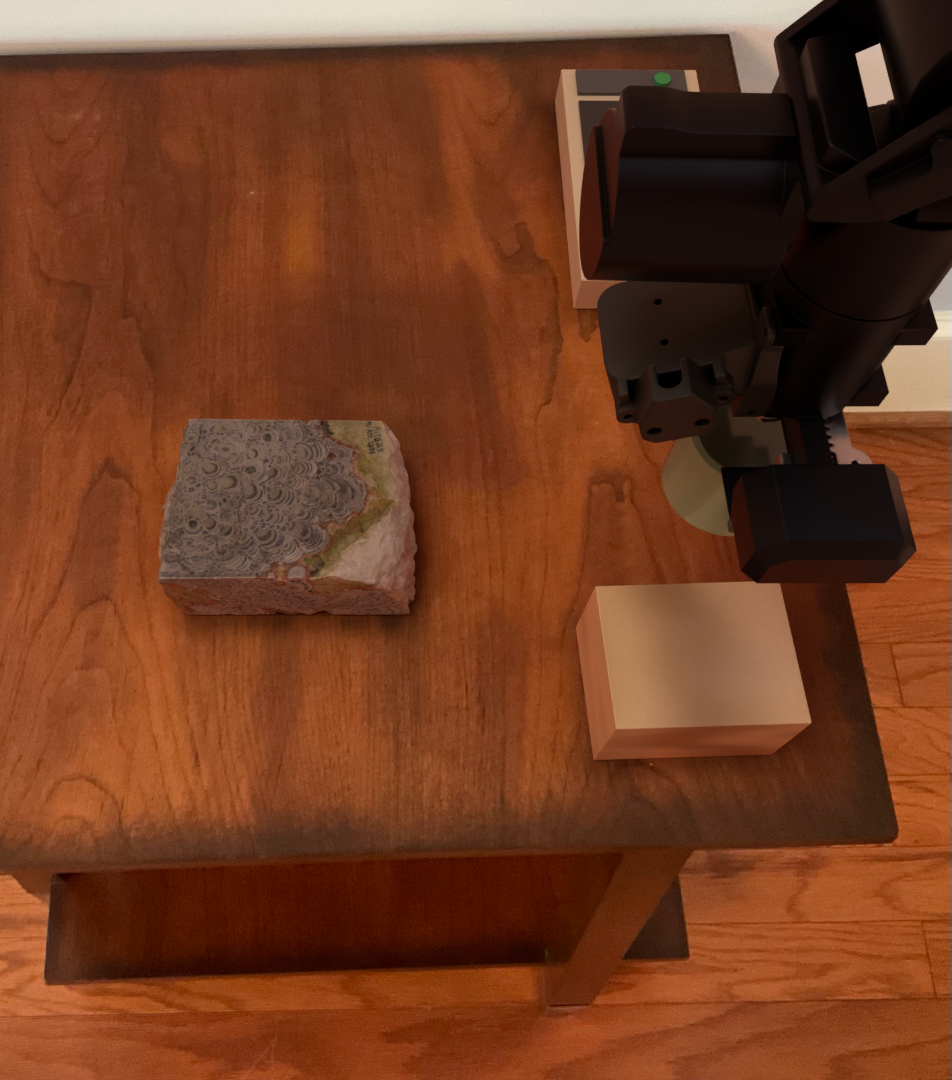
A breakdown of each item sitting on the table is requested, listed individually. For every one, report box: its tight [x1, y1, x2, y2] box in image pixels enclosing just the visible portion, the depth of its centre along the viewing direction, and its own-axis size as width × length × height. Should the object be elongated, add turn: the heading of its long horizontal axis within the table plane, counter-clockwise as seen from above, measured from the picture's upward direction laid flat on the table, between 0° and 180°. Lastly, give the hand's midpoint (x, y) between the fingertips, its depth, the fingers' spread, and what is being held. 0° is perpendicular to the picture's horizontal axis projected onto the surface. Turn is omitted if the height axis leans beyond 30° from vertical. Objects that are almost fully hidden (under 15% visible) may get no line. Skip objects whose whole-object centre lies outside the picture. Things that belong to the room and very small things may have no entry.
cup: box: [661, 404, 787, 537], centre depth 52 cm, size 6×6×5 cm
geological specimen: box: [157, 418, 418, 616], centre depth 65 cm, size 11×6×15 cm
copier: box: [554, 68, 701, 310], centre depth 77 cm, size 20×10×4 cm, turn 179°
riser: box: [575, 580, 812, 761], centre depth 60 cm, size 10×8×6 cm
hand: (728, 472), depth 54 cm, fingers closed on cup, 6 cm apart
